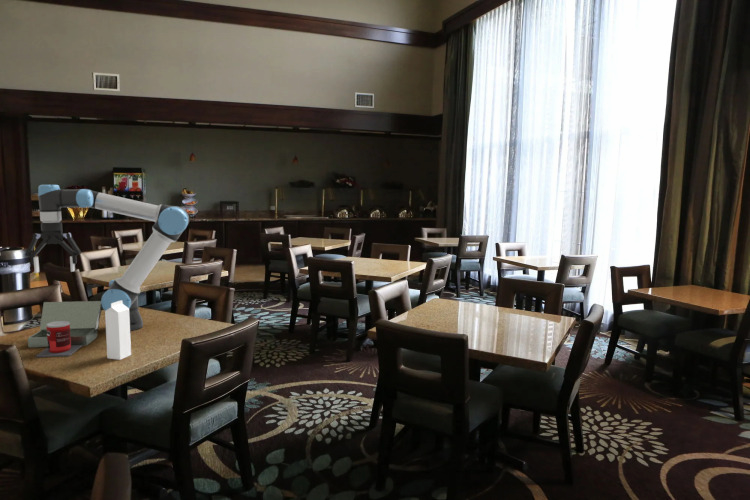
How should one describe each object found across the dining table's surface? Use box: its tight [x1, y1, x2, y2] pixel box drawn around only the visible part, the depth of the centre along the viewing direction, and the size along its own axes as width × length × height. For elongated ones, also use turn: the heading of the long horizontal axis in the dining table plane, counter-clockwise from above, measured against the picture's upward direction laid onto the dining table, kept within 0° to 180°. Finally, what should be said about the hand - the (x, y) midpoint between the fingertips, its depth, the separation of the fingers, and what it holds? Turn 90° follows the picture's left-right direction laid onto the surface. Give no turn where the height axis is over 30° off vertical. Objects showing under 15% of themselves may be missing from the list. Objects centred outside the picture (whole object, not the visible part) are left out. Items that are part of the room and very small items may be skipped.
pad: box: [35, 345, 83, 358], centre depth 201 cm, size 12×12×1 cm
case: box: [27, 300, 102, 349], centre depth 215 cm, size 24×17×15 cm
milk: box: [104, 300, 132, 361], centre depth 195 cm, size 6×6×22 cm
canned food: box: [46, 321, 71, 353], centre depth 200 cm, size 8×8×11 cm
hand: (55, 271), depth 213 cm, fingers open, 13 cm apart
